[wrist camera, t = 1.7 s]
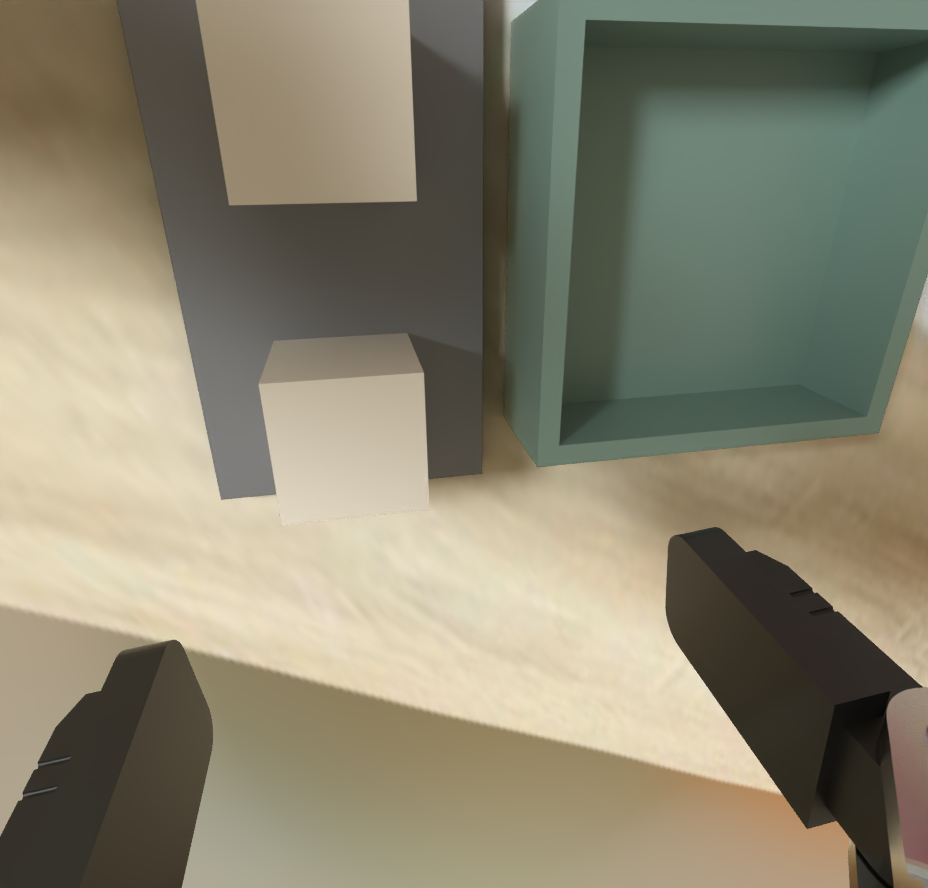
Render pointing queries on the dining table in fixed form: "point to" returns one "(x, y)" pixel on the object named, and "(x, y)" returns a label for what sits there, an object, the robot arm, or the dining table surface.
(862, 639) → the robot arm
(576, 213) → the bin
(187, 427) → the dining table surface
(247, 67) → the pale stone
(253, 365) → the stone mat
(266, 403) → the pale stone
